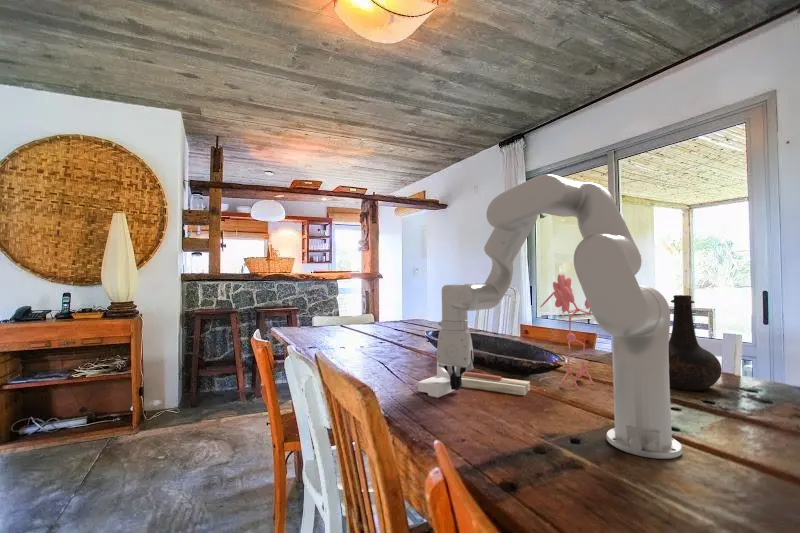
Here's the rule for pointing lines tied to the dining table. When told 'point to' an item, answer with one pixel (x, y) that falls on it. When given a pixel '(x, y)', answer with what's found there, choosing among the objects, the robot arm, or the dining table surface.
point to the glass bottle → (689, 352)
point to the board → (497, 385)
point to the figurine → (563, 299)
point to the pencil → (482, 376)
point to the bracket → (436, 383)
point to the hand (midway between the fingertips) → (455, 388)
